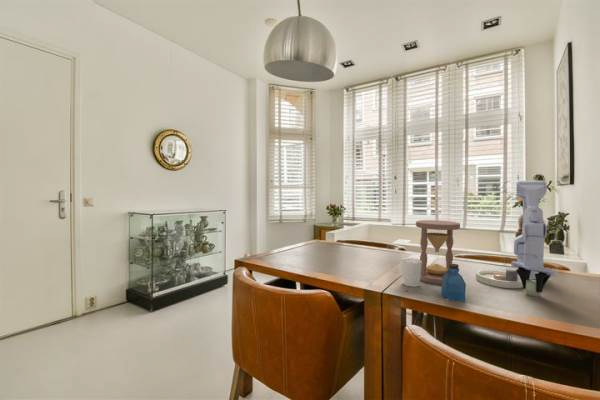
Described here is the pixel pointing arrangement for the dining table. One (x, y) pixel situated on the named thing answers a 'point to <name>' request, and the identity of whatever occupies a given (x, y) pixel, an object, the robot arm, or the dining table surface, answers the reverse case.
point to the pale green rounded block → (531, 288)
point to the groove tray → (497, 279)
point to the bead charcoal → (511, 275)
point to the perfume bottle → (453, 284)
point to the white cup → (411, 271)
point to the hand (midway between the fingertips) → (532, 290)
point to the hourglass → (437, 240)
